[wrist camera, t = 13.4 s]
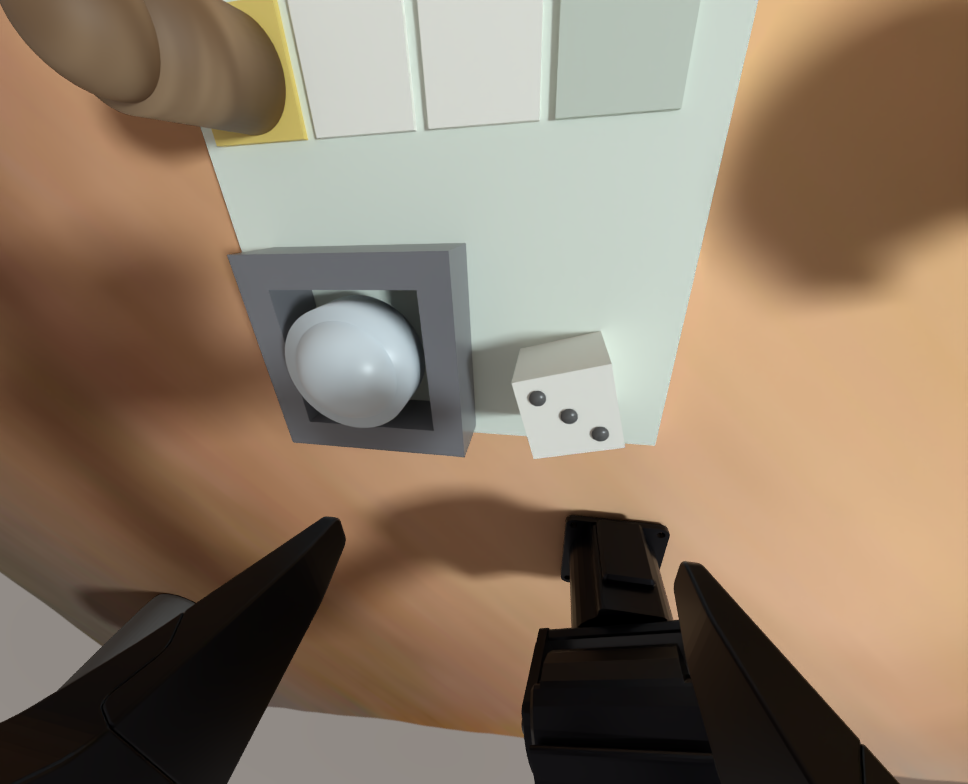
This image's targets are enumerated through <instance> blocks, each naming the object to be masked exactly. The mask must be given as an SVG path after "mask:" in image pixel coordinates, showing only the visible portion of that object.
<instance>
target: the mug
mask: <svg viewBox="0 0 968 784" xmlns="http://www.w3.org/2000/svg"><path fill="white" fill-rule="evenodd" d="M194 604H195V603H194V602H192V601H190V600H187V599H185V598H182V597H179V596H175V595H170V594H161V595H158V596H156V597H154V598H153V599H152V600H151V601H150V602H148V603H147V604H146V605H145V606H144V607H143V608H142V609H141V610H140V611H138V612H137V613H136V614H135V615H134V616H133V617H132V618H131V619H130V620H129V621H128V622H127V623H126V624H125V625H124V626H123V627H122V628H121V629H120V630H119V631H118V632H117V633H116V634H114V635H113V636H112V637H111V638H110V639H109V640H108V641H107V642H106V643H105V644H104V645H103V646H102V647H101V648H100V649H99V650H98V651H97V652H96V653H95V654H94V655H93V656H92V657H91V658H90V659H89V660H88V661H87V662H86V663H85V664H84V665H83V666H82V667H81V668H80V669H79V670H78V671H77V672H76V673H75V674H74V675H73V676H72V677H71V678H70V679H69V680H68V681H67V682H66V683H65V684H64V685H63V686H62V687H61V688H63V687H65V686H66V685H68V684H70V683H71V682H73V681H75V680H76V679H78V678H80V677H81V676H83V675H85V674H86V673H88V672H90V671H91V670H93V669H94V668H96V667H98V666H99V665H101V664H103V663H104V662H106V661H108V660H109V659H111V658H113V657H114V656H116V655H117V654H119V653H121V652H122V651H124V650H125V649H127V648H129V647H130V646H132V645H134V644H135V643H137V642H138V641H140V640H141V639H143V638H144V637H146V636H147V635H149V634H150V633H152V632H154V631H155V630H157V629H158V628H160V627H161V626H163V625H164V624H166V623H167V622H169V621H170V620H172V619H173V618H175V617H176V616H178V615H179V614H180V613H183V612H184V613H185V611H186V610H187V609H188V608H190V607H191V606H192V605H194ZM61 688H60V689H61ZM60 689H59V690H60Z"/></svg>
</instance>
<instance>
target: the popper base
mask: <svg viewBox="0 0 968 784" xmlns="http://www.w3.org/2000/svg"><path fill="white" fill-rule="evenodd" d="M227 256H228V259H229V262H230V265H231V268H232V270H233V273H234V276H235V279H236V282H237V285H238V287H239V290H240V293H241V296H242V299H243V302H244V304H245V307H246V310H247V313H248V316H249V319H250V322H251V324H252V327H253V330H254V333H255V336H256V339H257V341H258V344H259V347H260V350H261V353H262V356H263V358H264V361H265V364H266V367H267V370H268V373H269V375H270V378H271V381H272V384H273V387H274V390H275V392H276V395H277V398H278V401H279V404H280V407H281V409H282V412H283V415H284V418H285V421H286V424H287V426H288V429H289V432H290V435H291V438H292V441H293V442H295V443H307V444H318V445H330V446H341V447H353V448H365V449H376V450H388V451H399V452H411V453H422V454H434V455H446V456H457V457H465V455H466V452H467V449H468V446H469V444H470V441H471V438H472V435H473V433H474V430H475V427H476V415H475V397H474V379H473V361H472V344H471V326H470V308H469V290H468V272H467V255H466V243H439V244H394V245H349V246H305V247H273V248H266V249H260V250H254V251H248V252H242V253H236V254H229V255H227ZM312 290H417V298H418V306H419V314H420V323H421V331H422V339H423V347H424V355H425V363H426V371H427V379H428V387H429V395H430V401H425V400H409V401H408V402H407V404H406V405H405V406H404V408H403V409H402V410H401V411H400V413H399V414H398V415H397V416H396V417H395V418H393V419H392V420H391V421H389V422H387V423H385V424H383V425H380V426H376V427H370V428H358V427H351V426H347V425H344V424H341V423H338V422H336V421H334V420H331V419H329V418H328V417H326V416H324V415H323V414H321V413H320V412H319V411H317V410H316V409H315V408H314V407H313V406H311V405H310V404H309V403H308V402H307V401H306V400H305V399H304V397H303V396H302V395H301V394H300V392H299V391H298V389H297V388H296V386H295V385H294V383H293V381H292V379H291V377H290V374H289V371H288V368H287V364H286V359H285V343H286V338H287V335H288V332H289V330H290V328H291V326H292V325H293V324H294V322H295V321H296V320H297V319H298V318H299V317H301V316H302V315H303V314H305V313H307V312H309V311H311V310H313V309H315V308H317V307H316V303H315V299H314V296H313V292H312Z"/></svg>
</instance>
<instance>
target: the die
mask: <svg viewBox="0 0 968 784" xmlns="http://www.w3.org/2000/svg"><path fill="white" fill-rule="evenodd" d="M512 387H513V390H514V394H515V397H516V400H517V404H518V407H519V411H520V414H521V417H522V421H523V424H524V427H525V431H526V434H527V438H528V441H529V444H530V448H531V451H532V455H533V458H534V459H538V458H546V457H554V456H562V455H570V454H578V453H586V452H594V451H602V450H610V449H618V448H625V443H624V437H623V431H622V425H621V418H620V412H619V406H618V400H617V393H616V387H615V381H614V375H613V368H612V363H611V360H610V357H609V354H608V351H607V348H606V345H605V342H604V339H603V336H602V333H601V331H598V332H593V333H589V334H584V335H580V336H575V337H571V338H566V339H561V340H557V341H552V342H548V343H543V344H539V345H534V346H530V347H525V348H521V349H520V351H519V355H518V359H517V363H516V367H515V371H514V375H513V379H512Z"/></svg>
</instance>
